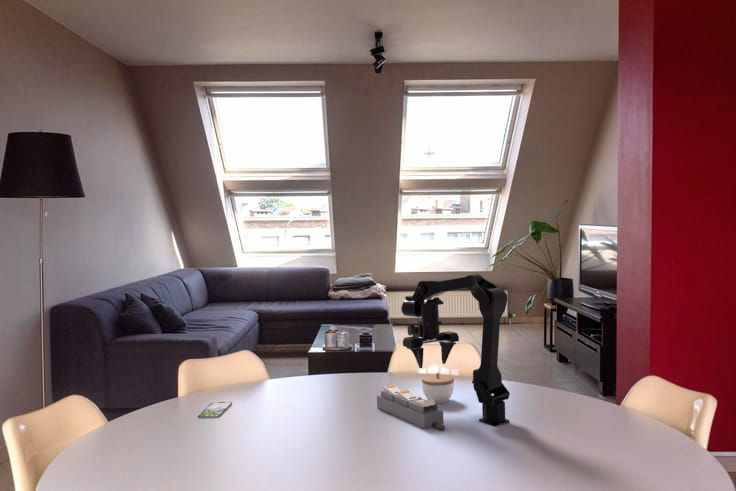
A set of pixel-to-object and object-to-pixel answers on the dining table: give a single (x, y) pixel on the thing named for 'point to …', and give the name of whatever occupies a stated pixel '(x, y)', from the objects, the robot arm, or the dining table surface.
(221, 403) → the smartphone
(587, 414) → the dining table surface
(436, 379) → the lidded jar
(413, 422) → the rocker switch panel
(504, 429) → the dining table surface
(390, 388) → the block
